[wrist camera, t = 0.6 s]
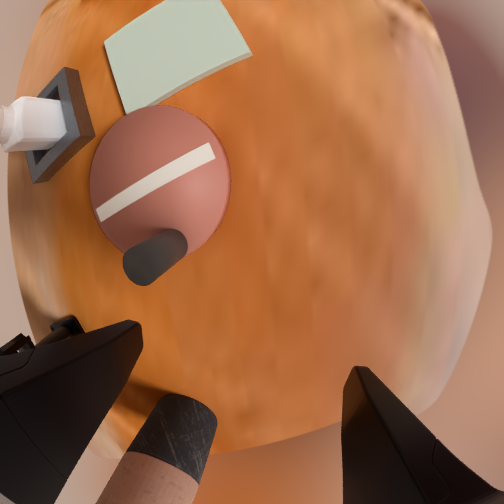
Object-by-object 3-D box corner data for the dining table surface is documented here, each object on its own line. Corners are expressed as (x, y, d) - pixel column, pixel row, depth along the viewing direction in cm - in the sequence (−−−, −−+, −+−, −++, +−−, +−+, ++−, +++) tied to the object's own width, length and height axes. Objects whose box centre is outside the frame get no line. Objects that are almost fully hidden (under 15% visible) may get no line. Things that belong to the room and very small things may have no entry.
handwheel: (133, 275, 19) (90, 306, 14) (84, 156, 17) (33, 159, 12) (257, 225, 16) (239, 251, 11) (194, 81, 14) (155, 53, 9)
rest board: (133, 119, 17) (127, 118, 17) (109, 44, 16) (103, 41, 15) (252, 55, 15) (250, 51, 14) (209, -16, 13) (206, -20, 12)
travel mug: (163, 381, 25) (69, 533, 6) (229, 412, 25) (171, 580, 6) (152, 414, 27) (82, 535, 8) (209, 440, 27) (158, 571, 8)
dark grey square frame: (47, 181, 20) (33, 183, 18) (33, 119, 19) (19, 118, 17) (95, 136, 18) (79, 135, 16) (78, 70, 17) (64, 66, 15)
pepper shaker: (72, 100, 18) (-8, 90, 9) (72, 139, 19) (-13, 141, 10) (48, 114, 18) (-26, 112, 9) (48, 150, 19) (-29, 158, 10)
